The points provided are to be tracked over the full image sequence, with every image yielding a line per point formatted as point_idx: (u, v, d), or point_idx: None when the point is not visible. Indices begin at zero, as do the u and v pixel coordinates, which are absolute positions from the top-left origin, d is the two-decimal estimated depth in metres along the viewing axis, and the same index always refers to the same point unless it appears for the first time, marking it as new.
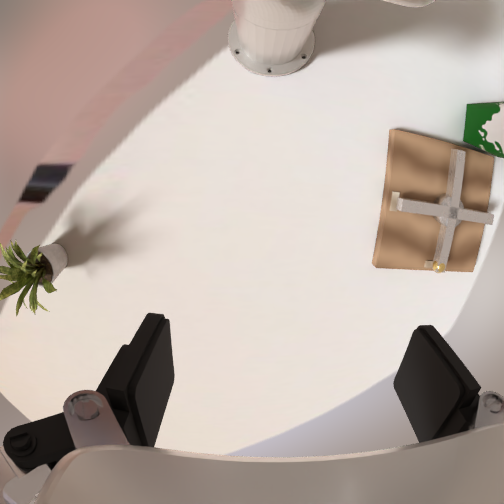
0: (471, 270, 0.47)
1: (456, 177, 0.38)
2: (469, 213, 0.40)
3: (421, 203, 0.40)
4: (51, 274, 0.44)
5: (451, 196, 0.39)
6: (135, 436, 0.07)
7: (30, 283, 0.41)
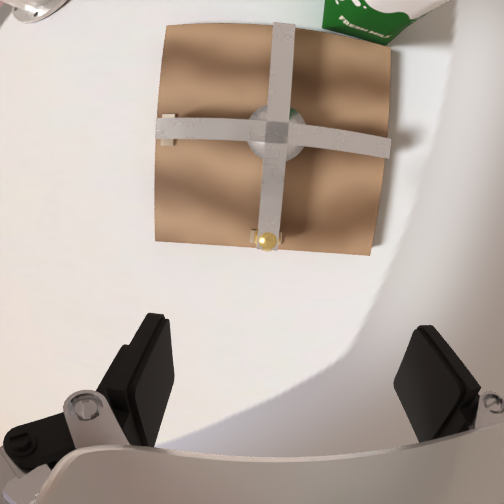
0: (365, 252, 0.30)
1: (275, 67, 0.21)
2: (321, 133, 0.23)
3: (195, 120, 0.23)
4: None
5: (268, 102, 0.23)
6: (135, 436, 0.07)
7: None
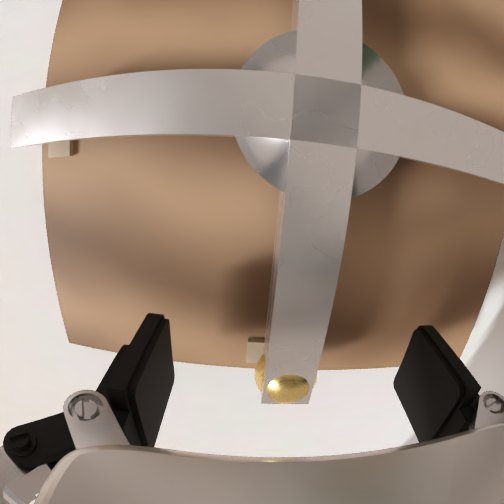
0: None
1: None
2: (442, 124, 0.07)
3: (88, 85, 0.07)
4: None
5: (297, 24, 0.06)
6: (135, 436, 0.07)
7: None
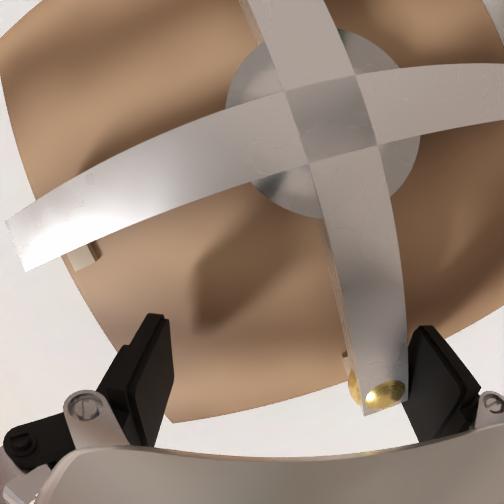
0: None
1: None
2: (447, 83, 0.06)
3: (75, 185, 0.07)
4: None
5: (262, 35, 0.06)
6: (135, 436, 0.07)
7: None
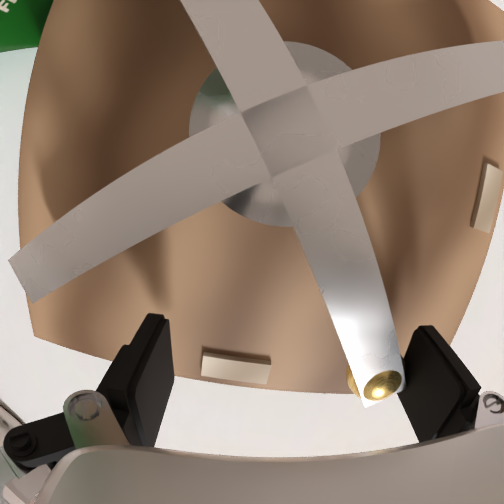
0: None
1: None
2: (402, 76, 0.06)
3: (66, 222, 0.08)
4: None
5: None
6: (135, 436, 0.07)
7: None
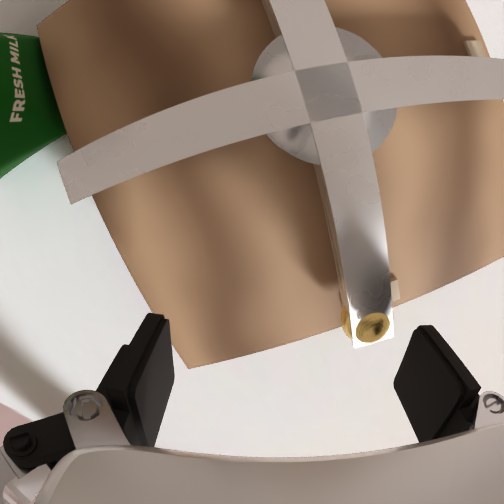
0: None
1: None
2: (420, 70, 0.08)
3: (129, 131, 0.09)
4: None
5: (280, 30, 0.08)
6: (135, 436, 0.07)
7: None
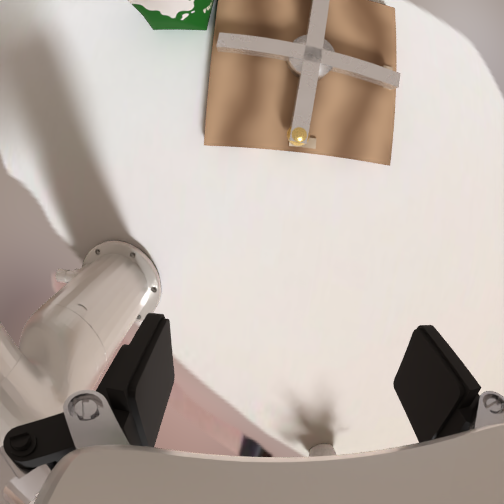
0: (392, 10, 0.26)
1: (315, 11, 0.24)
2: (346, 59, 0.26)
3: (250, 37, 0.26)
4: None
5: (307, 33, 0.26)
6: (135, 436, 0.07)
7: None
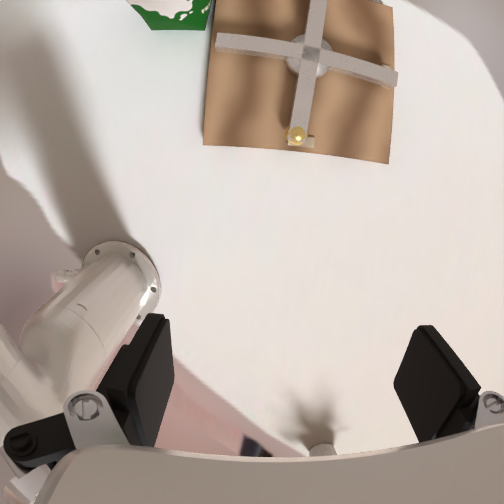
0: (390, 9, 0.26)
1: (312, 11, 0.25)
2: (344, 59, 0.26)
3: (248, 37, 0.26)
4: None
5: (305, 33, 0.26)
6: (135, 436, 0.07)
7: None
